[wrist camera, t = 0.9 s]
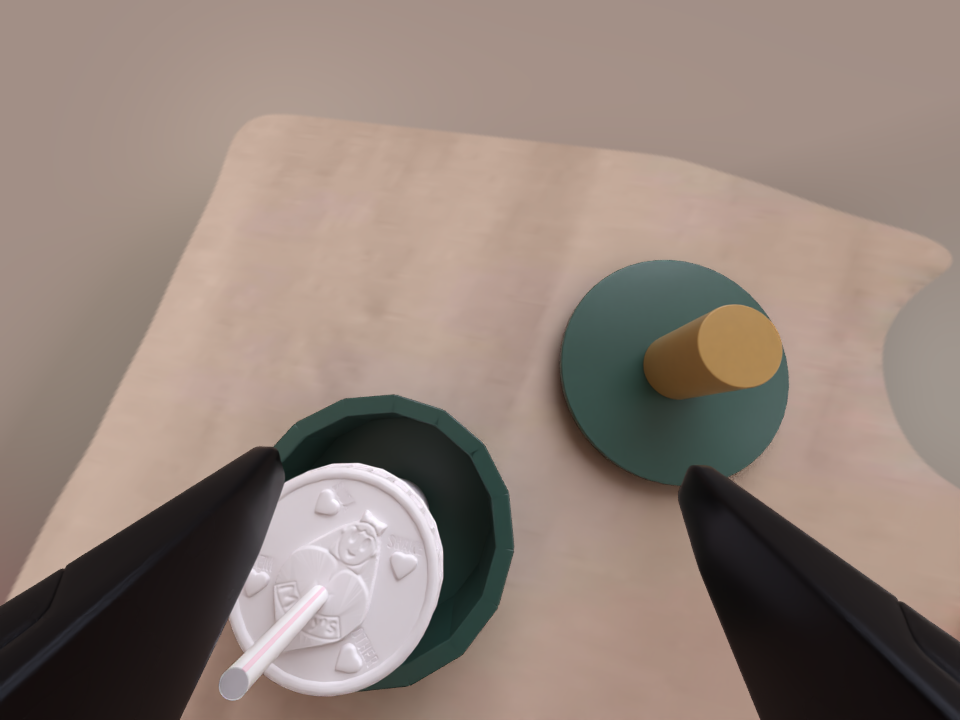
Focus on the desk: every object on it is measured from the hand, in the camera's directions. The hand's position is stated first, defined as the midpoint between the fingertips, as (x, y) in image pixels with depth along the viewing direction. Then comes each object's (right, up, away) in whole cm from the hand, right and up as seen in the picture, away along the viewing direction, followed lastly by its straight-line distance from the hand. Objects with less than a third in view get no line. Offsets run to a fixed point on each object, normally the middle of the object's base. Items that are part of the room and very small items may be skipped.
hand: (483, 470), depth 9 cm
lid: (+11, +2, +14) cm, 18 cm away
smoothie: (-5, -6, +13) cm, 15 cm away
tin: (-5, -6, +13) cm, 15 cm away
